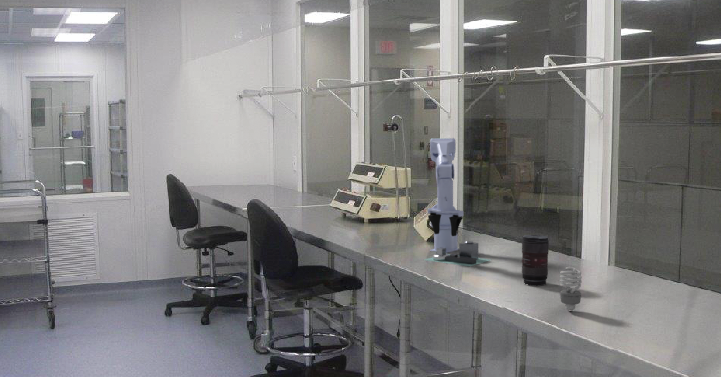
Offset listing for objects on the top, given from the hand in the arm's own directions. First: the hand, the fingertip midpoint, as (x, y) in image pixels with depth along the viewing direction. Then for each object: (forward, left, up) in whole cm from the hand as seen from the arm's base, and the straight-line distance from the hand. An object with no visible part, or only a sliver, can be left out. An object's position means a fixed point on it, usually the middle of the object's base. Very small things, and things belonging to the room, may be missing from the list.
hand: (445, 234), depth 272 cm
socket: (-6, +6, -9) cm, 13 cm away
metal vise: (0, +4, -9) cm, 10 cm away
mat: (-3, +3, -10) cm, 11 cm away
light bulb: (+38, +66, -10) cm, 77 cm away
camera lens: (+14, +43, -10) cm, 46 cm away
